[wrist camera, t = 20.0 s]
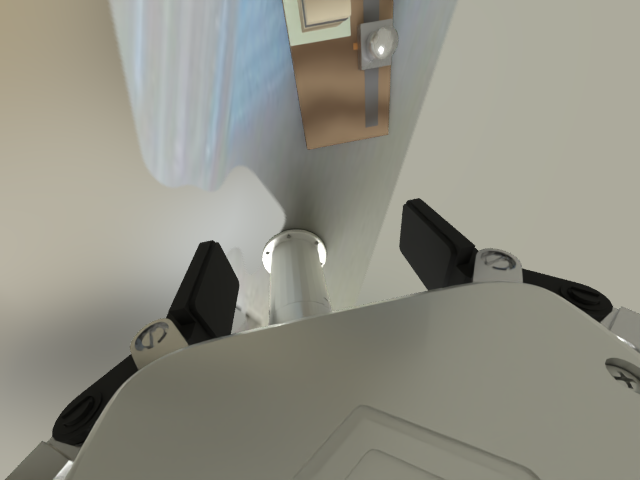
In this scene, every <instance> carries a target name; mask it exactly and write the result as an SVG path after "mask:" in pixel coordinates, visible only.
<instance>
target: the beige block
mask: <svg viewBox="0 0 640 480" xmlns="http://www.w3.org/2000/svg"><path fill="white" fill-rule="evenodd" d="M297 2H298V9H299V15H300V22H301V29H302V33H304V32H309V31H315V30H320V29H326V28H331V27H337V26H338V25H340V24H341V23H342V22H343V21H346V20H347V19H348V17H349V16H351V0H297Z"/></svg>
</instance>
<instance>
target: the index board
mask: <svg viewBox="0 0 640 480" xmlns="http://www.w3.org/2000/svg"><path fill="white" fill-rule="evenodd" d="M282 3H283V0H282ZM283 9H284V4H283ZM284 15H285V10H284ZM387 19H393V0H351V16H350V29H351V36H347V37H341V38H335V39H330V40H324V41H318V42H312V43H306V44H301V45H295V46H290V51H291V56H292V62H293V68H294V74H295V80H296V86H297V92H298V98H299V104H300V110H301V116H302V122H303V128H304V134H305V140H306V145H307V149H308V150H310V149H315V148H320V147H325V146H331V145H336V144H341V143H346V142H351V141H357V140H362V139H367V138H372V137H378V136H383V135H388V127H389V101H390V75H391V65H388V66H382V67H377V68H371V69H365V70H358V43H357V26H358V25H360V24H363V23H369V22H375V21H381V20H387ZM285 21H286V16H285ZM286 27H287V22H286ZM287 33H288V28H287ZM288 39H289V34H288ZM289 45H290V40H289Z"/></svg>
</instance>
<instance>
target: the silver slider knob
mask: <svg viewBox="0 0 640 480" xmlns="http://www.w3.org/2000/svg"><path fill="white" fill-rule="evenodd" d="M357 43H358V70H365V69H371V68H377V67H382V66H388V65H391V60H392V54H393V53H394V52H395V50H396V48H397V45H398V34H397V31H396V30H395V28H394V27H393V19H387V20H381V21H375V22H369V23H363V24H360V25H358V26H357Z"/></svg>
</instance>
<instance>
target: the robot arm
mask: <svg viewBox="0 0 640 480" xmlns="http://www.w3.org/2000/svg"><path fill="white" fill-rule="evenodd" d="M288 234H289V235H288ZM399 247H400V251H401V252H402V254H403V255H404V257H405V258H406V259H407V261H408V262H409V264H410V265H411V267H412V268H413V270H414V271H415V272H416V274H417V275H418V277H419V278H420V280H421V281H422V282H423V284H424V285H425V287H426V288H427V289H428V291H424V292H419V293H414V294H410V295H406V296H401V297H396V298H392V299H387V300H382V301H378V302H373V303H368V304H363V305H359V306H354V307H350V308H345V309H341V310H336V311H332V308H331V304H330V299H329V295H328V291H327V287H326V283H325V278H324V274H323V270H322V267H323V265H324V263H325V261H326V249H325V246H324V244H323V242H322V241H321V239H320V238H319V237H318V236H316V235H315V234H313V233H311V232H308V231H305V230H287V231H284V232H281V233H279V234H277V235H275V236H274V237H272V238H271V239H270V240H269V241H268V242H267V244H266V245H265V247H264V250H263V257H262V258H263V264H264V266H265V268H266V270H267V271H268V272H269V273H270V295H269V325H268V326H265V327H260V328H256V329H252V330H247V331H243V332H239V333H235V334H231V330H232V324H233V318H234V313H235V308H236V302H237V296H238V291H239V281H238V278H237V277H236V275H235V273H234V271H233V269H232V267H231V265H230V263H229V261H228V259H227V257H226V255H225V253H224V252H223V250H222V248H221V246H220V244H219V243H218V242H216V243H215V242H214V241H213V240H212V241H207V242H202V243H200V244H199V246H198V248H197V250H196V253H195V255H194V257H193V260H192V261H191V264H190V266H189V268H188V270H187V272H186V274H185V277H184V279H183V281H182V283H181V285H180V288H179V290H178V292H177V294H176V296H175V298H174V300H173V303H172V305H171V307H170V309H169V312H168V315H167V317H166V318H163V319H158V320H155V321H153V322H151V323H149V324H147V325H146V326H145V327H143V328H142V329H141V330H140V331H139V332H138V333H137V334H136V335H135V337H134V338H133V340H132V341H131V345H130V352H131V355H129V356H128V357H127V358H126V359H124V360H123V361H122V362H120V363H119V364H118V365H117V366H115V367H114V368H113V369H112V370H110V371H109V372H108V373H107V374H106V375H104V376H103V377H102V378H100V379H99V380H98V381H97V382H95V383H94V384H93V385H91V386H90V387H89V388H88V389H87V390H85V391H84V392H83V393H81V394H80V395H79V396H78V397H76V398H75V399H74V400H73V401H72V402H71V403H70V404H69V405H68V406H67V407H66V408H65V409H64V410H63V411H62V413H61V414H60V416H59V417H58V419H57V420H56V422H55V425H54V427H53V431H52V437H51V438H50V440H49V441H48V442H43V441H42V442H41V443H40V444H39V445H38V446H37V447H36V448H35V449H34V450H33V451H32V452H31V453H30V454H29V455H28V456H27V457H26V458H25V459H24V460H23V461H22V462H21V463H20V465H18V467H17V468H16V469H15V470H14V471H13V472H12V473H11V474H10V475H9V476H8V477H7V478H6V479H5V480H640V314H639V313H636V312H634V311H631V310H629V309H626V308H624V307H621V308H619V309H616V308H613V306H612V304H611V302H610V300H609V299H608V298H606V296H604V295H603V294H601V293H600V292H598V291H597V290H595V289H593V288H591V287H589V286H586V285H583V284H579V283H576V282H572V281H568V280H564V279H560V278H556V277H553V276H549V275H545V274H541V273H537V272H534V271H530V270H526V269H522V265H521V263H520V261H519V260H518V258H517V257H515V256H514V255H512V254H511V253H508V252H506V251H503V250H499V249H493V248H488V249H483V250H480V251H478V250H477V249H476V248H475V245H474V244H473V243H472V242H470V241H469V240H468V239H467V238H466V237H465V236H463V235H462V234H461V233H460V232H459V231H457V230H456V229H455V228H454V227H453V226H452V225H450V224H449V223H448V222H447V221H445V220H444V219H443V218H442V217H441V216H440V215H439V214H438V213H436V212H435V211H434V210H433V209H432V208H431V207H429V206H428V205H427V204H426V203H425V202H424V201H422V200H421V199H419V198H418V199H413V200H408V201H407V202H406V204H404V206H403V213H402V224H401V234H400V246H399Z"/></svg>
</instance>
